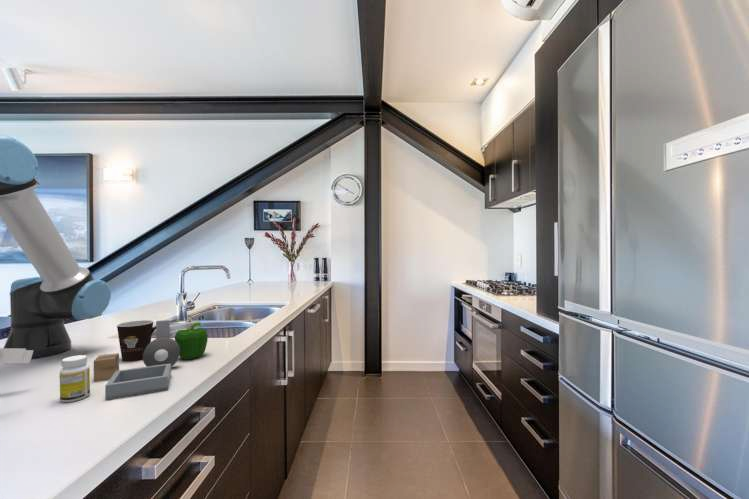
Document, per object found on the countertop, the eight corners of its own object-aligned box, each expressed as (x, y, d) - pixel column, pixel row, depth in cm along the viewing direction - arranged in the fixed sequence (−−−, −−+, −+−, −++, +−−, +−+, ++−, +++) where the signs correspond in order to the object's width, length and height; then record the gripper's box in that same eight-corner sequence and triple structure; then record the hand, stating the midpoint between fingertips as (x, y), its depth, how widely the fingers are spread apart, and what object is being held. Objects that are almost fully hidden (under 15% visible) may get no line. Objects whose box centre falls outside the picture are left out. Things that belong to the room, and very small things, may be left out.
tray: (116, 383, 80) (116, 370, 80) (171, 375, 85) (171, 363, 85) (105, 400, 71) (105, 385, 71) (167, 390, 76) (167, 376, 76)
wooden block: (99, 375, 86) (99, 355, 86) (119, 372, 88) (119, 353, 88) (93, 382, 81) (93, 361, 81) (114, 379, 83) (114, 358, 83)
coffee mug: (109, 362, 96) (108, 326, 96) (134, 353, 104) (134, 320, 104) (146, 363, 94) (146, 327, 94) (169, 354, 103) (169, 320, 103)
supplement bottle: (74, 393, 75) (74, 354, 75) (95, 393, 75) (95, 354, 75) (53, 403, 70) (52, 361, 70) (75, 403, 70) (75, 361, 70)
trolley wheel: (146, 366, 92) (145, 321, 92) (180, 362, 95) (180, 318, 95) (142, 373, 86) (142, 325, 86) (179, 368, 90) (178, 322, 90)
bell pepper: (168, 362, 95) (167, 325, 96) (184, 353, 104) (183, 320, 104) (198, 361, 96) (198, 325, 96) (212, 352, 104) (212, 319, 104)
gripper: (-121, 377, 67) (29, 373, 80) (-199, 383, 49) (13, 377, 61) (-105, 337, 69) (39, 340, 82) (-174, 328, 51) (26, 334, 64)
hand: (28, 356), depth 72 cm, fingers open, 13 cm apart
